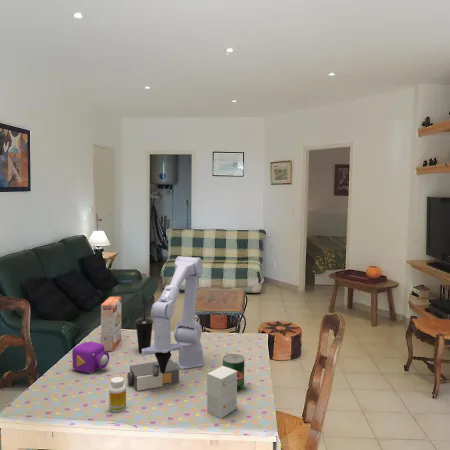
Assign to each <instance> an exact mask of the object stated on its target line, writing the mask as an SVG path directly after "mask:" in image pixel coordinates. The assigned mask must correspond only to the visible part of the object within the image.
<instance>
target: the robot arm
mask: <svg viewBox="0 0 450 450" xmlns="http://www.w3.org/2000/svg"><path fill="white" fill-rule="evenodd" d="M203 267H204V266H203V261H202V258H201V257H193V256H181V255H179V256H177V257H176V258H175V261H174V273H173V275H172V279H171V281H170V284H167V285H166V286H165V287H164V289H163V290H162V293H161V294H160V296H159V298H158V300H157V301H155V302H154V303H153V304H152V305H151V310H150V314H151V316H152V320H153V323H154V325H153V327H154V333H153V335H154V345H152V346H151V345H150V347H148V348H144V349H142V353H141V355H142V356H143V357H145V356H147V355H154V356H155V358H156V360H157V361H158V363H159V367H160V372H161V373H165V370H166V366H167V363H168V361H169V360H170V359H171V358H172V353H171V352H175V351H178V360H175V361H174V363H175V364H176V366H177V367H178V368H180V369H179V370H185V369H192V368H197V367H199V368H200V367H204V364H203V362H204V361H203V360H204V359H203V358H204V354H203V353H204V350H203V345H202V342H201V339H202V329H201V323H199V322H198V321H197V320H196V319H195V317H196V307H197V306H196V305H197V295H198V285H199V284H198V283H199V279H201V278H202V274H203ZM184 280H185V281H184ZM184 282H185V286H184V296H183V308H182V319H180V320H179V321H177V322H176V323H175V329H174V331H173V338H174V340H175V341H176V343H171V342H172V340H171V339H172V338H171V335H172V334H171V333H172V332H171V331H172V330H171V329H172V328H171V322H172V321H171V320H172V319H171V318H172V317H173V315H174V312H175V307H176V305H175V303H176V302H177V299H178V297H179V295H180V287H181V285H182V284H183V283H184ZM157 361H156V362H157Z"/></svg>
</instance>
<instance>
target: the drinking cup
mask: <svg viewBox="0 0 450 450" xmlns="http://www.w3.org/2000/svg"><path fill="white" fill-rule="evenodd" d="M142 314H143V315H142V316H143V317H141V318H138V319H136V320H135V321H134V322H135V326H136V328H135V329H136V336H137V337H136V338H137V347H138V353H139V354H142V349H144V348H148V347H151V342H152V332H153V323H154V322H153V318H150V317H146V306H143V313H142Z"/></svg>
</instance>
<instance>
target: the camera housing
mask: <svg viewBox="0 0 450 450" xmlns="http://www.w3.org/2000/svg"><path fill="white" fill-rule="evenodd" d="M153 365H159V363H158V361H151V362H144V363H139V364H132V365H129V372H127V374H126V375H127V376H126V379H127V384H128V385H132V386H133V387H134V390H135V391H137V377H140V376H146V375H152V374H153ZM159 373H161V372H160V367H159ZM179 383H180V369H179V367H178V365H177V364H176V363H175V361H173V360H172V359H171V358H170V359H169V361H168V363H167V366H166V370H165V373H162V386H161V387H163V386H167V385H171V384H172V385H174V384H179Z"/></svg>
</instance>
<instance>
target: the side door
mask: <svg viewBox="0 0 450 450" xmlns="http://www.w3.org/2000/svg"><path fill="white" fill-rule="evenodd" d="M159 387H160V388H162V387H163V386H162V373H159V365H153V374H152V375H146V376H140V377H137V390H136V391H143V390H148V389H155V388H159Z"/></svg>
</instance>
